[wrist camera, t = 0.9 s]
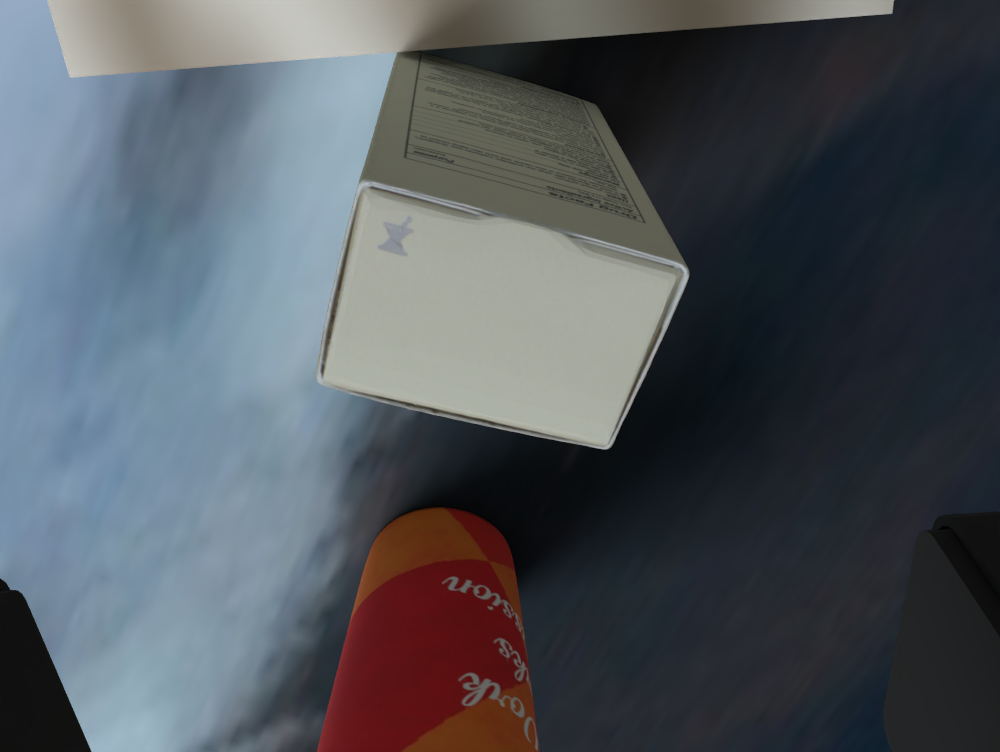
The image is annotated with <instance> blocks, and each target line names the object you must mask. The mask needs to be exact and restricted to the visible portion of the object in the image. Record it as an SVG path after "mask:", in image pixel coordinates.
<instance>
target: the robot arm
mask: <svg viewBox="0 0 1000 752" xmlns="http://www.w3.org/2000/svg"><path fill="white" fill-rule="evenodd" d="M883 718H884V727H885V732H886V736H887V740H888V742H889V745H890V747H891V750H892V752H1000V513H999V512H983V513H968V514H953V515H943V516H939V517H938V518H937V519H936V521H935V522H934V525H933V528H932V530H927V531H922V532H921V533H920V534H919V535H918V537H917V541H916V545H915V550H914V555H913V560H912V565H911V570H910V576H909V581H908V586H907V591H906V596H905V601H904V606H903V611H902V617H901V622H900V627H899V632H898V637H897V642H896V647H895V652H894V658H893V663H892V668H891V673H890V678H889V683H888V688H887V693H886V699H885V704H884V711H883ZM0 752H91V750H90V747H89V745H88V743H87V741H86V738H85V736H84V734H83V731H82V729H81V727H80V724H79V722H78V720H77V717H76V715H75V713H74V710H73V708H72V706H71V703H70V701H69V699H68V697H67V694H66V692H65V690H64V687H63V685H62V683H61V680H60V678H59V676H58V673H57V671H56V669H55V666H54V664H53V662H52V659H51V657H50V655H49V652H48V650H47V648H46V646H45V643H44V641H43V639H42V636H41V634H40V632H39V629H38V627H37V625H36V622H35V620H34V618H33V615H32V613H31V611H30V608H29V606H28V604H27V602H26V599H25V598H24V596H23V595H22V593H20V592H19V591H17V590H10V588H9V587H8V585H7V584H6V582H4V581H3V580H2V579H0Z"/></svg>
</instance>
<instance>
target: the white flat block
mask: <svg viewBox="0 0 1000 752" xmlns="http://www.w3.org/2000/svg"><path fill="white" fill-rule="evenodd" d="M47 1H48V4H49V8H50V11H51V15H52V18H53V21H54V25H55V28H56V32H57V35H58V39H59V42H60V45H61V49H62V52H63V56H64V59H65V62H66V66H67V69H68V73H69V76H70V78H71V77H84V76H97V75H109V74H122V73H135V72H148V71H161V70H174V69H187V68H199V67H212V66H225V65H238V64H251V63H264V62H277V61H289V60H302V59H315V58H328V57H341V56H354V55H367V54H379V53H392V52H405V51H418V50H431V49H444V48H457V47H469V46H482V45H495V44H508V43H521V42H534V41H547V40H559V39H572V38H585V37H598V36H611V35H624V34H637V33H649V32H662V31H675V30H688V29H701V28H714V27H727V26H739V25H752V24H765V23H778V22H791V21H804V20H817V19H829V18H842V17H855V16H868V15H881V14H892V11H893V3H894V0H47Z"/></svg>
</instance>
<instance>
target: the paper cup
mask: <svg viewBox="0 0 1000 752" xmlns="http://www.w3.org/2000/svg"><path fill="white" fill-rule="evenodd" d="M317 752H539V745H538V737H537V729H536V721H535V714H534V706H533V698H532V690H531V682H530V675H529V667H528V659H527V652H526V644H525V636H524V629H523V622H522V614H521V607H520V600H519V593H518V586H517V580H516V574H515V568H514V563H513V558H512V554H511V551H510V548H509V546H508V543H507V541H506V540H505V538H504V537H503V535H502V534H501V533H500V532H499V530H498V529H497V528H495V527H494V526H493V525H492V524H491V523H490V522H488V521H487V520H485V519H483V518H482V517H480V516H478V515H476V514H473V513H471V512H468V511H465V510H461V509H456V508H449V507H430V508H423V509H418V510H415V511H411V512H409V513H406V514H404V515H402V516H400V517H398V518H396V519H395V520H393V521H392V522H390V523H389V524H388V525H387V526H386V527H384V528H383V530H382V531H381V532H380V533H379V534H378V536H377V537H376V539H375V541H374V543H373V545H372V547H371V550H370V552H369V555H368V558H367V561H366V565H365V568H364V572H363V575H362V579H361V582H360V586H359V590H358V593H357V597H356V601H355V605H354V609H353V612H352V616H351V620H350V624H349V628H348V631H347V635H346V639H345V643H344V647H343V651H342V655H341V659H340V663H339V667H338V670H337V674H336V678H335V682H334V686H333V690H332V694H331V698H330V702H329V706H328V710H327V714H326V718H325V722H324V726H323V730H322V733H321V737H320V741H319V745H318V749H317Z"/></svg>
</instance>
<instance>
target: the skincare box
mask: <svg viewBox="0 0 1000 752" xmlns="http://www.w3.org/2000/svg"><path fill="white" fill-rule="evenodd" d="M688 279H689V269H688V267H687V266H686V264H685V262H684V260H683V258H682V256H681V255H680V253H679V251H678V249H677V248H676V246H675V244H674V242H673V240H672V238H671V237H670V235H669V234H668V232H667V230H666V228H665V226H664V224H663V223H662V221H661V219H660V217H659V215H658V214H657V212H656V210H655V208H654V206H653V205H652V203H651V201H650V199H649V197H648V195H647V194H646V192H645V190H644V188H643V187H642V185H641V183H640V181H639V179H638V178H637V176H636V174H635V172H634V170H633V168H632V167H631V165H630V163H629V161H628V160H627V158H626V156H625V155H624V153H623V151H622V149H621V147H620V145H619V144H618V142H617V140H616V138H615V137H614V135H613V133H612V131H611V129H610V128H609V126H608V124H607V122H606V120H605V119H604V117H603V115H602V113H601V112H600V110H599V108H598V107H597V106H596V105H595V104H593V103H590V102H588V101H585V100H582V99H579V98H576V97H573V96H570V95H567V94H564V93H561V92H558V91H554V90H551V89H548V88H545V87H542V86H539V85H535V84H532V83H529V82H526V81H522V80H519V79H516V78H512V77H509V76H505V75H502V74H498V73H495V72H491V71H488V70H484V69H481V68H477V67H474V66H470V65H466V64H463V63H459V62H455V61H452V60H448V59H444V58H440V57H436V56H432V55H428V54H424V53H420V52H416V51H405V52H397V55H396V58H395V61H394V64H393V68H392V71H391V75H390V78H389V81H388V85H387V88H386V92H385V95H384V98H383V102H382V105H381V109H380V112H379V116H378V119H377V123H376V126H375V130H374V134H373V137H372V141H371V144H370V147H369V151H368V154H367V158H366V161H365V165H364V168H363V171H362V174H361V177H360V180H359V184H358V187H357V191H356V195H355V199H354V203H353V207H352V211H351V215H350V218H349V222H348V226H347V230H346V234H345V238H344V242H343V246H342V250H341V254H340V259H339V263H338V267H337V271H336V276H335V280H334V284H333V289H332V293H331V298H330V302H329V306H328V311H327V316H326V321H325V327H324V332H323V337H322V343H321V349H320V355H319V360H318V365H317V370H316V379H317V381H318V382H319V383H320V385H323V386H325V387H328V388H332V389H336V390H340V391H343V392H346V393H349V394H352V395H357V396H361V397H365V398H368V399H372V400H375V401H379V402H383V403H388V404H391V405H395V406H399V407H404V408H407V409H410V410H416V411H421V412H425V413H429V414H433V415H438V416H443V417H448V418H452V419H455V420H461V421H465V422H470V423H475V424H479V425H484V426H489V427H493V428H498V429H503V430H507V431H512V432H518V433H522V434H526V435H531V436H536V437H542V438H547V439H553V440H557V441H562V442H568V443H574V444H579V445H584V446H589V447H594V448H599V449H609V448H610V447H611V446H612V445H613V443H614V441H615V438H616V436H617V434H618V432H619V429H620V427H621V425H622V422H623V421H624V419H625V417H626V415H627V413H628V411H629V409H630V407H631V405H632V403H633V401H634V398H635V396H636V394H637V392H638V390H639V388H640V386H641V384H642V382H643V380H644V378H645V376H646V374H647V371H648V369H649V367H650V365H651V362H652V360H653V358H654V356H655V354H656V352H657V349H658V347H659V345H660V343H661V341H662V339H663V337H664V334H665V332H666V330H667V328H668V326H669V323H670V321H671V319H672V316H673V314H674V312H675V309H676V307H677V305H678V302H679V300H680V298H681V296H682V293H683V291H684V289H685V286H686V284H687V281H688Z"/></svg>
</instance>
